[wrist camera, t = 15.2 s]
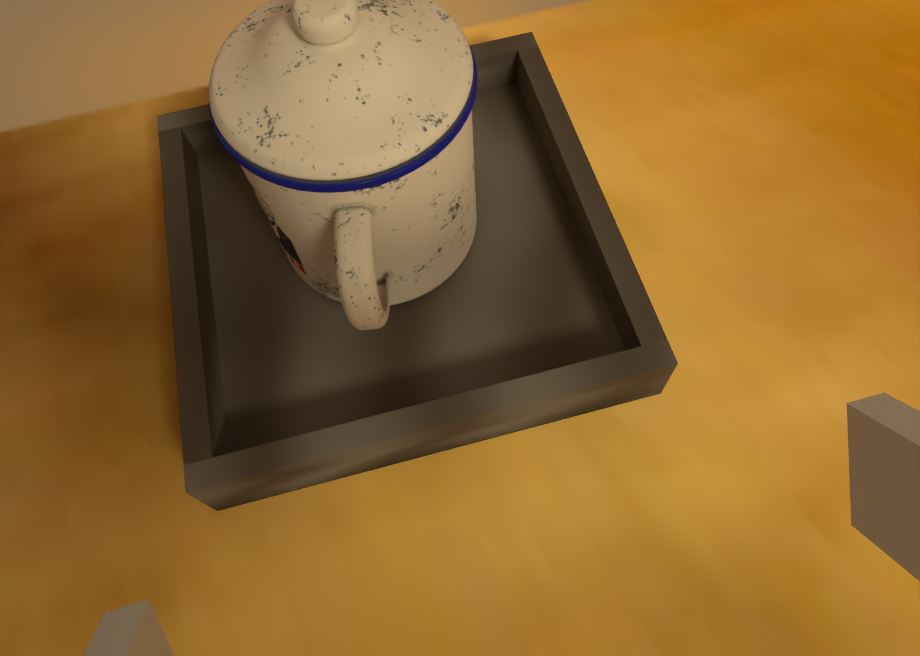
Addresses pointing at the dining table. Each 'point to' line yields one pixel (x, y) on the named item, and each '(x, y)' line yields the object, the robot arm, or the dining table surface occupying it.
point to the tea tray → (402, 310)
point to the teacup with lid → (355, 142)
